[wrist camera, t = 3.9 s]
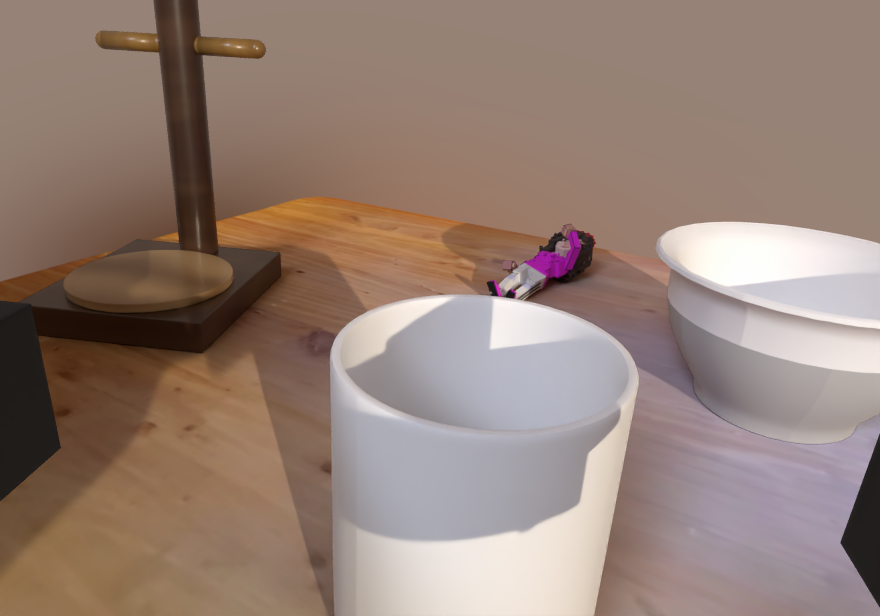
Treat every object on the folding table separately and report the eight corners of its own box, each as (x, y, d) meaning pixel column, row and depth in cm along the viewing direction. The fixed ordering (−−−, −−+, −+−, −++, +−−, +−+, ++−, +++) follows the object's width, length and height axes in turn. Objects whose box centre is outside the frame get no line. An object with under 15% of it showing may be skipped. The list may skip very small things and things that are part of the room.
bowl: (967, 414, 38) (1026, 276, 35) (879, 537, 28) (950, 360, 25) (708, 321, 49) (735, 209, 46) (577, 387, 39) (599, 248, 36)
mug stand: (204, 353, 40) (158, -111, 31) (18, 333, 42) (-81, -120, 32) (284, 274, 54) (269, -69, 44) (141, 261, 55) (96, -77, 45)
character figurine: (529, 328, 49) (605, 271, 57) (530, 264, 46) (609, 214, 54) (467, 308, 52) (548, 257, 60) (465, 247, 50) (549, 203, 58)
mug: (515, 478, 31) (540, 259, 27) (629, 727, 20) (702, 424, 16) (326, 493, 29) (322, 262, 25) (340, 773, 18) (337, 447, 14)
